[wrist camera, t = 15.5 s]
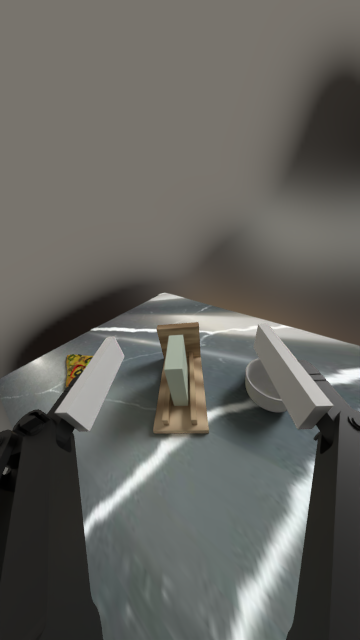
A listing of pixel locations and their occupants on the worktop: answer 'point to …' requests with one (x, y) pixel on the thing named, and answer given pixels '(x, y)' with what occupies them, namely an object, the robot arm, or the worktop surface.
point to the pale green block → (177, 370)
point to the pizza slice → (76, 366)
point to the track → (195, 412)
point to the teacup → (262, 388)
